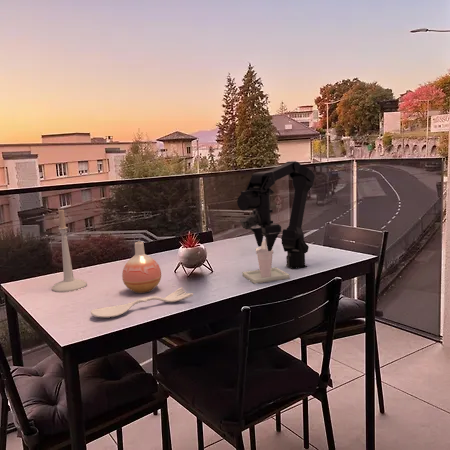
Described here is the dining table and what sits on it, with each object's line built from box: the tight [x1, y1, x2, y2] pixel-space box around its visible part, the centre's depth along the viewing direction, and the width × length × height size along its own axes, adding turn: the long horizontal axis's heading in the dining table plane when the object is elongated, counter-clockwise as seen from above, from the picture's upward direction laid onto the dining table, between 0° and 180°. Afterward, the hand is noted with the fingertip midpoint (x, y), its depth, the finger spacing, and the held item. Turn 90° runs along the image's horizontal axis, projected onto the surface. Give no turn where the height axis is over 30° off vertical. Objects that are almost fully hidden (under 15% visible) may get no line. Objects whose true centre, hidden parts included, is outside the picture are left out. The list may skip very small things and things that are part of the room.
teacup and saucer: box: [255, 240, 265, 251], centre depth 222 cm, size 9×8×4 cm
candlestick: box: [51, 209, 88, 293], centre depth 174 cm, size 13×13×30 cm
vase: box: [121, 241, 162, 294], centre depth 164 cm, size 14×14×18 cm
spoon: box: [90, 287, 194, 319], centre depth 147 cm, size 9×32×4 cm, turn 119°
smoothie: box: [255, 238, 274, 277], centre depth 173 cm, size 6×6×14 cm
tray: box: [241, 267, 291, 285], centre depth 174 cm, size 14×12×2 cm
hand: (264, 248), depth 172 cm, fingers open, 9 cm apart
